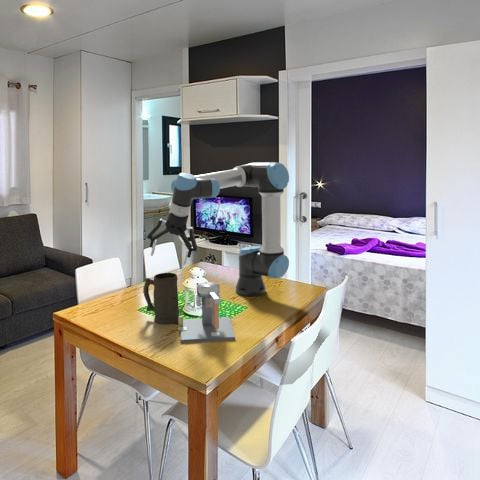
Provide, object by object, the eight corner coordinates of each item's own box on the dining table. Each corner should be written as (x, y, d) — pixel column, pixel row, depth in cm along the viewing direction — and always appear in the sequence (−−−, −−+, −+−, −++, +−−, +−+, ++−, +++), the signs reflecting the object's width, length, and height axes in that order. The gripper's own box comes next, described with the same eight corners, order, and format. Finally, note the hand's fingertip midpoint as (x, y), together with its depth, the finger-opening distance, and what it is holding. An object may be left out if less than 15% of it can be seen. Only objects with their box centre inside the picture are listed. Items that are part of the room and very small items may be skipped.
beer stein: (183, 315, 178) (179, 271, 175) (179, 324, 168) (174, 278, 164) (149, 316, 179) (144, 273, 175) (142, 326, 169) (137, 280, 165)
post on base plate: (229, 319, 173) (229, 289, 171) (235, 339, 154) (235, 306, 151) (178, 322, 170) (178, 291, 168) (178, 343, 151) (177, 308, 148)
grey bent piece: (195, 313, 168) (194, 283, 166) (216, 310, 171) (216, 281, 168) (205, 330, 151) (204, 297, 149) (228, 327, 154) (228, 294, 152)
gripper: (145, 207, 155) (136, 255, 165) (209, 225, 157) (196, 271, 167) (150, 200, 162) (141, 246, 172) (211, 217, 164) (199, 262, 173)
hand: (168, 258), depth 169 cm, fingers open, 13 cm apart
